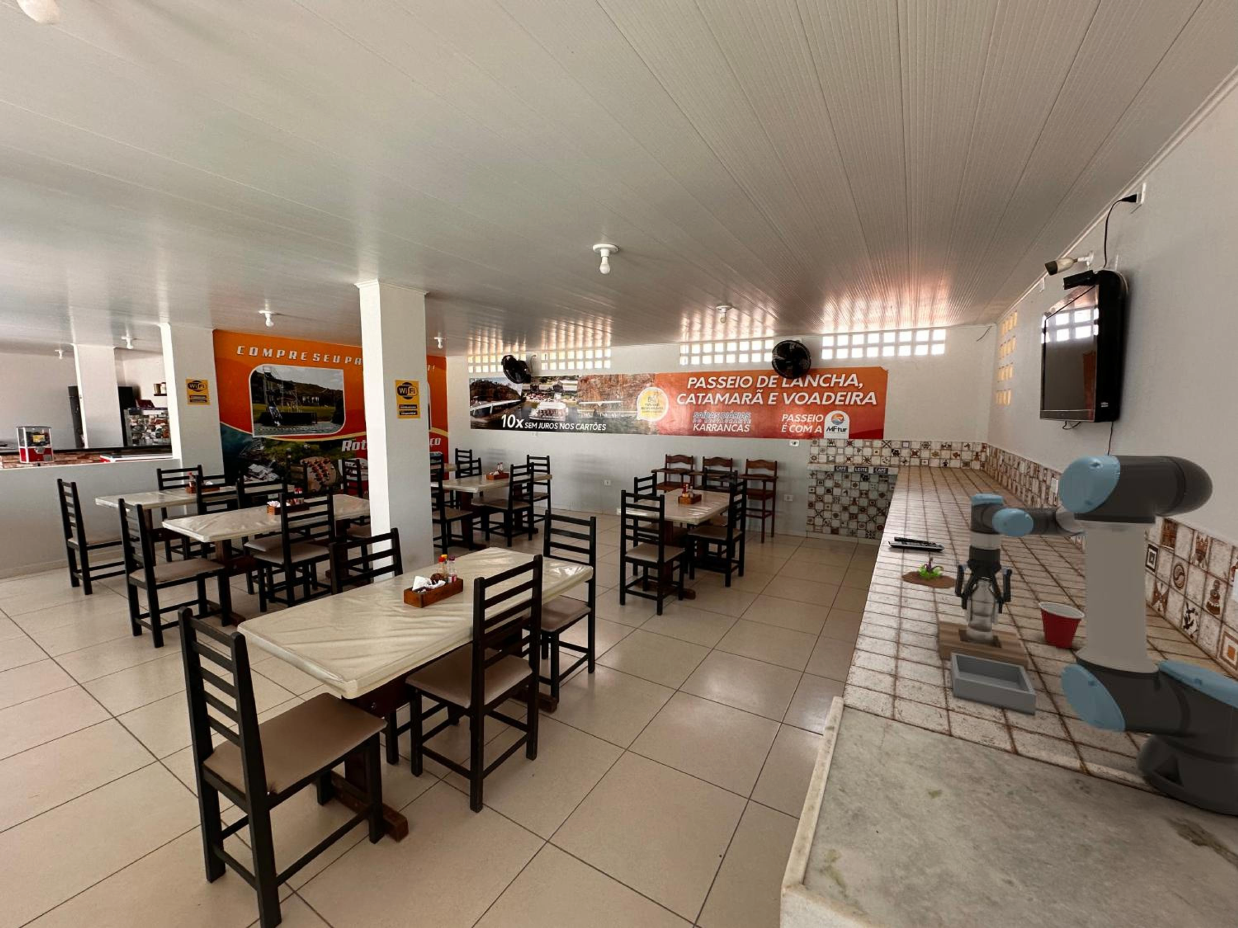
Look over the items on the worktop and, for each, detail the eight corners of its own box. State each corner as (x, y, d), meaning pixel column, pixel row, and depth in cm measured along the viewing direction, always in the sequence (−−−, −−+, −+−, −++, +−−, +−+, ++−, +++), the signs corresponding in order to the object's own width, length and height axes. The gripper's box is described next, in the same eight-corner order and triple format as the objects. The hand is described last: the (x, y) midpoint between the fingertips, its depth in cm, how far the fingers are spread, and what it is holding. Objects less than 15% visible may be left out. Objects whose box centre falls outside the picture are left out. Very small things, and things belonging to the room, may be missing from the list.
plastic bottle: (964, 637, 154) (968, 574, 152) (991, 642, 151) (995, 577, 149) (966, 645, 149) (969, 580, 147) (994, 650, 145) (998, 583, 143)
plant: (962, 583, 213) (964, 558, 212) (950, 595, 199) (951, 568, 198) (911, 573, 227) (912, 549, 226) (896, 583, 214) (897, 558, 213)
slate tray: (1034, 715, 119) (1036, 695, 118) (954, 696, 127) (955, 677, 126) (1022, 684, 132) (1023, 666, 132) (950, 669, 140) (951, 652, 140)
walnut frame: (1027, 675, 136) (1028, 660, 136) (940, 658, 147) (941, 643, 146) (1014, 646, 154) (1015, 632, 153) (937, 633, 164) (938, 619, 163)
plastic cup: (1078, 657, 147) (1081, 617, 146) (1032, 644, 155) (1034, 607, 154) (1085, 646, 154) (1088, 608, 153) (1040, 634, 162) (1042, 599, 161)
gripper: (1019, 546, 147) (1015, 621, 149) (944, 540, 154) (940, 612, 156) (1029, 552, 140) (1024, 631, 142) (949, 546, 147) (946, 621, 149)
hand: (980, 621), depth 149 cm, fingers closed on plastic bottle, 6 cm apart
